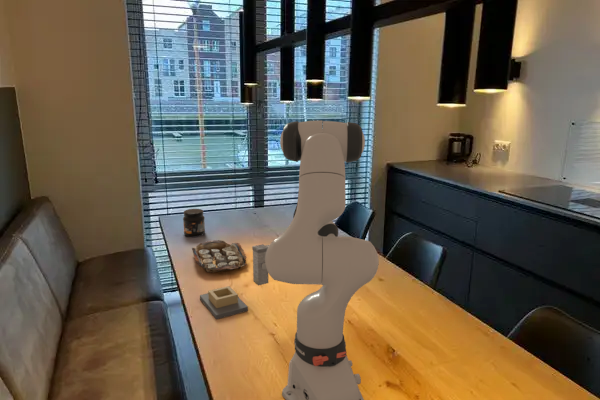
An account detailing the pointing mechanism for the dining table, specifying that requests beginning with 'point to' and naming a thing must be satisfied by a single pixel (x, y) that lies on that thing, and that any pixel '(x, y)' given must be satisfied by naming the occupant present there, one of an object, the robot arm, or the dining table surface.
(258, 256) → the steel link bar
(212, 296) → the keeper plate
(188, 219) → the supplement container
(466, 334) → the dining table surface
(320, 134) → the robot arm
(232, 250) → the baking tray
